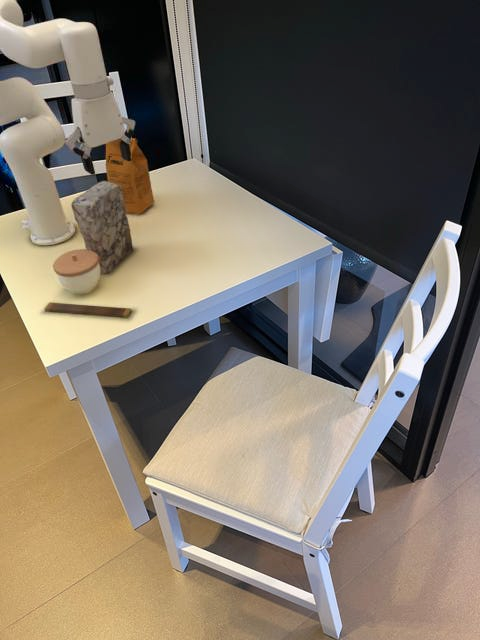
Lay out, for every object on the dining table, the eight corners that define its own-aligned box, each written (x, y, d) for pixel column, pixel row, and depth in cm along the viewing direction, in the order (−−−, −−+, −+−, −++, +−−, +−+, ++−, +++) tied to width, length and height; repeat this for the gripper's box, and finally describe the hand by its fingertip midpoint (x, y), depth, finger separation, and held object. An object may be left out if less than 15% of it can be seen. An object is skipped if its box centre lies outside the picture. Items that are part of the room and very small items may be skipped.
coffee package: (130, 196, 168) (114, 128, 154) (159, 203, 163) (146, 133, 149) (108, 209, 162) (91, 139, 148) (138, 217, 156) (123, 145, 143)
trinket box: (94, 301, 124) (84, 268, 119) (54, 298, 127) (42, 266, 121) (112, 275, 132) (103, 244, 127) (73, 273, 135) (63, 242, 129)
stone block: (113, 275, 132) (93, 204, 120) (89, 272, 135) (68, 201, 122) (137, 249, 142) (121, 180, 129) (115, 246, 144) (97, 178, 131)
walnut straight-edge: (45, 311, 123) (44, 308, 122) (50, 304, 125) (49, 302, 124) (128, 318, 118) (127, 315, 118) (132, 311, 120) (131, 308, 120)
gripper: (117, 77, 117) (132, 151, 128) (46, 96, 109) (68, 173, 120) (135, 82, 112) (148, 159, 123) (62, 103, 104) (83, 183, 115)
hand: (109, 166), depth 121 cm, fingers open, 9 cm apart
